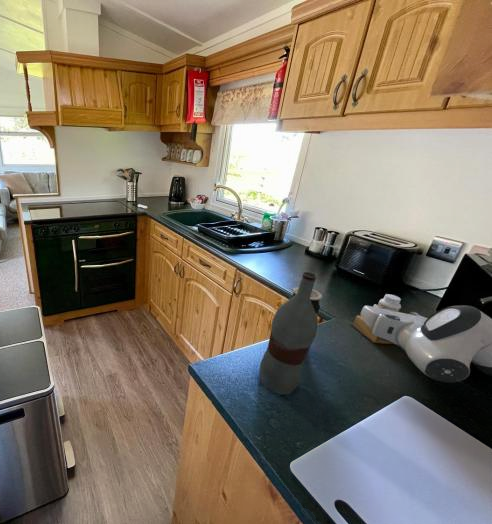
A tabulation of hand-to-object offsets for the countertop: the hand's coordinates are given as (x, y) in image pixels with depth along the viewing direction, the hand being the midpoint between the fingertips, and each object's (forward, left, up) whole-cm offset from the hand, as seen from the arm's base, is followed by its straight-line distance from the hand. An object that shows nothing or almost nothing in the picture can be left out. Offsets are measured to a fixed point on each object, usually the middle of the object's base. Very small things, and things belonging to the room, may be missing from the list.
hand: (393, 310), depth 90 cm
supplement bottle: (-1, -3, -7) cm, 8 cm away
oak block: (-1, -3, -11) cm, 12 cm away
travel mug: (+33, +5, -11) cm, 35 cm away
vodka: (+45, +21, -11) cm, 51 cm away
